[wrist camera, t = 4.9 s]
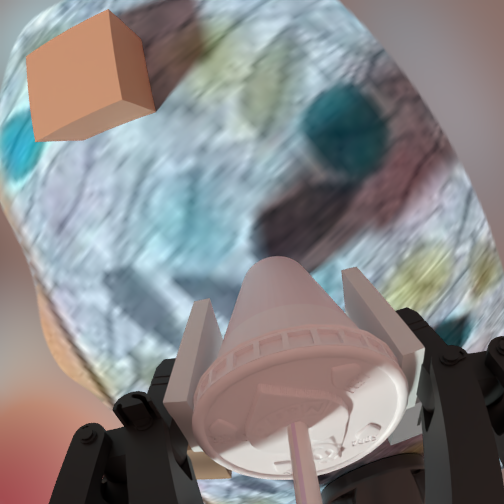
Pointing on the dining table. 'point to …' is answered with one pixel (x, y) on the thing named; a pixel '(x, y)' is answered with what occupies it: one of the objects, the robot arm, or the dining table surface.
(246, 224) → the dining table surface
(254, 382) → the smoothie
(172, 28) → the dining table surface
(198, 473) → the walnut block
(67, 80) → the terracotta block
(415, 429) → the grey cube
